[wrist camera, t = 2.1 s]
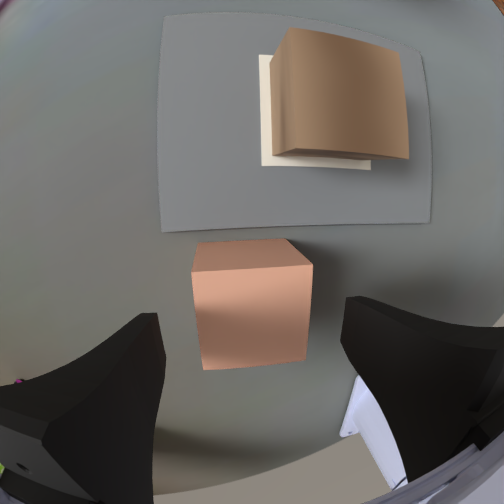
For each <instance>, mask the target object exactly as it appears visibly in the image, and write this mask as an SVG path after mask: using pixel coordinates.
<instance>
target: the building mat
mask: <svg viewBox="0 0 504 504" xmlns="http://www.w3.org/2000/svg"><path fill="white" fill-rule="evenodd" d="M289 27H293V28H300V29H307V30H313V31H319V32H325V33H330V34H334V35H339V36H344V37H348V38H352V39H356V40H360V41H363V42H367V43H370V44H374V45H377V46H380V47H384V48H387V49H390V50H393V51H396V52H398V53H399V57H400V62H401V68H402V75H403V82H404V90H405V99H406V109H407V121H408V139H409V159H386V160H353V159H340V158H325V157H304V156H272V128H271V94H270V67H269V63H270V61H271V59H272V57H273V55H274V54H275V52H276V50H277V48H278V46H279V45H280V43H281V41H282V39H283V37H284V36H285V34H286V32H287V31H288V29H289ZM157 159H158V186H159V204H160V218H161V230H162V232H174V231H190V230H207V229H226V228H247V227H271V226H298V225H333V224H392V223H429V220H430V207H431V187H432V148H431V128H430V115H429V105H428V97H427V89H426V82H425V76H424V70H423V64H422V59H421V54H420V51H418V50H416V49H413V48H411V47H409V46H406V45H403V44H401V43H398V42H395V41H393V40H390V39H387V38H384V37H381V36H378V35H375V34H372V33H368V32H365V31H361V30H358V29H354V28H350V27H346V26H342V25H338V24H333V23H329V22H324V21H318V20H313V19H307V18H300V17H293V16H285V15H276V14H265V13H247V12H209V13H191V14H180V15H171V16H164V21H163V29H162V39H161V50H160V63H159V79H158V104H157Z"/></svg>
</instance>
